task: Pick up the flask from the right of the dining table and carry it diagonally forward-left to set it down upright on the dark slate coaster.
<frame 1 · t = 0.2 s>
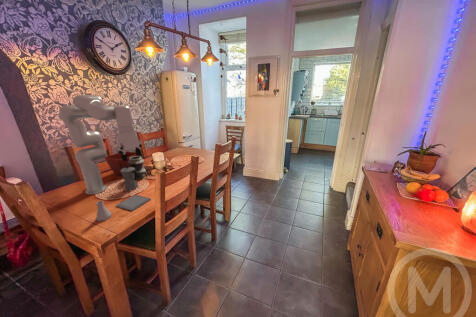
hand: (132, 158, 106), 31 cm above the table, fingers open, 9 cm apart
slate coaster: (134, 202, 116), on the table
flask: (104, 217, 102), on the table
plant pot: (126, 173, 162), on the table
apothecary jar: (139, 177, 153), on the table
coffeepot: (132, 188, 135), on the table
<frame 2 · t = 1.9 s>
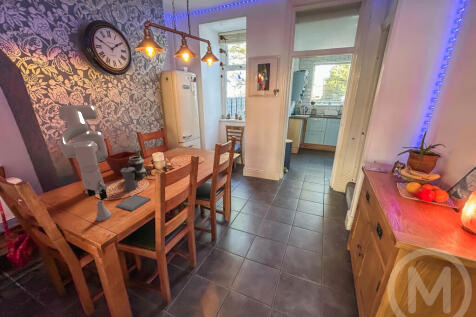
hand: (98, 197, 97), 13 cm above the table, fingers open, 9 cm apart
nothing on the table moved.
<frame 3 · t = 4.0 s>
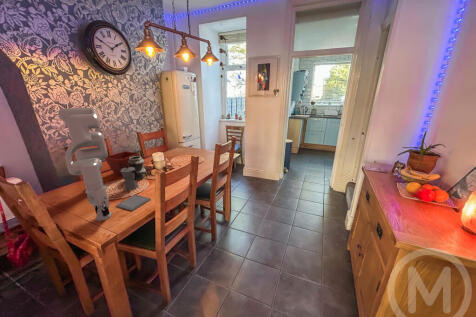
hand: (103, 213, 101), 2 cm above the table, fingers closed on flask, 5 cm apart
flask: (104, 217, 102), on the table, touching gripper
everything else where it was.
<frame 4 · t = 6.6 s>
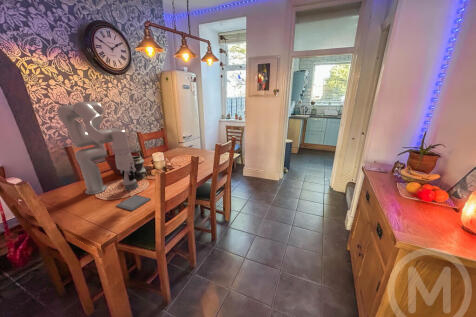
hand: (128, 179, 111), 17 cm above the table, fingers closed on flask, 5 cm apart
flask: (129, 183, 111), point 14 cm above the table, touching gripper
everything else where it was.
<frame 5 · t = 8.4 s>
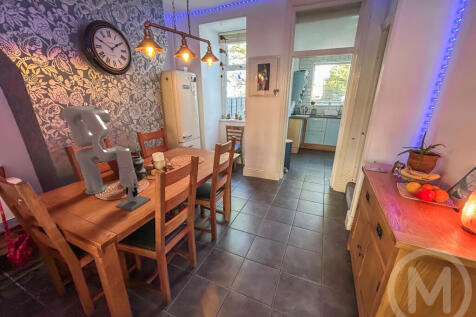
hand: (132, 194, 114), 6 cm above the table, fingers closed on flask, 5 cm apart
flask: (133, 198, 115), point 3 cm above the table, touching gripper
everything else where it was.
when the fingers open (4 cm above the table, at t = 9.7 s): flask stays where it is, resting on slate coaster.
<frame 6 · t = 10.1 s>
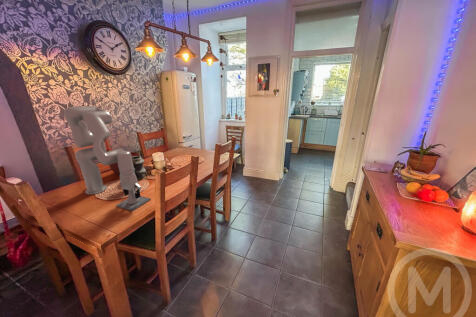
hand: (132, 196, 114), 5 cm above the table, fingers open, 9 cm apart
flask: (133, 201, 116), point 1 cm above the table, touching slate coaster
everything else where it was.
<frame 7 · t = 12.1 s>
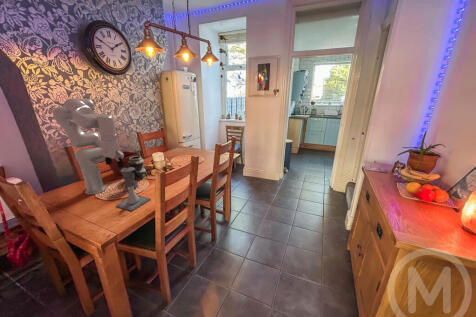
hand: (115, 165, 108), 26 cm above the table, fingers open, 9 cm apart
nothing on the table moved.
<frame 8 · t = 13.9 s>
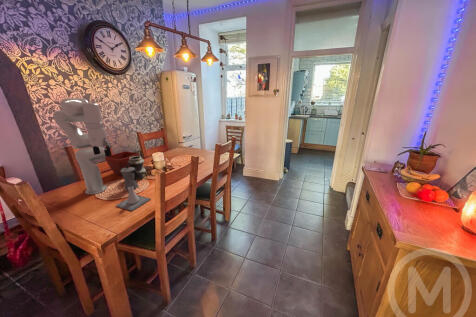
hand: (103, 155, 106), 32 cm above the table, fingers open, 9 cm apart
nothing on the table moved.
at the end: flask inside the target area on the slate coaster (0.2 cm from its centre), point 0.7 cm above the slate coaster's base; flask tilted 0°; the gripper is holding nothing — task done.
